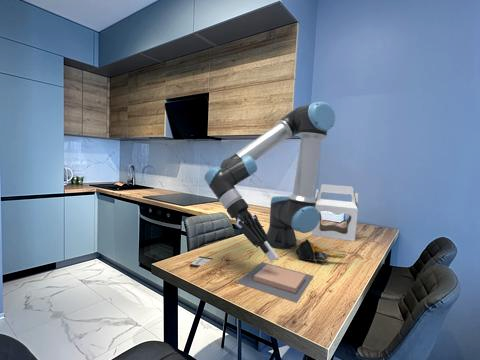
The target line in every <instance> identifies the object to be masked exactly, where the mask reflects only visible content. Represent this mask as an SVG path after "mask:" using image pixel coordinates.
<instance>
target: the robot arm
mask: <svg viewBox="0 0 480 360" xmlns="http://www.w3.org/2000/svg"><path fill="white" fill-rule="evenodd" d="M335 121H336V115H335V111H334V109H333V108H332V106H331V104H329V103H327V102H325V101H316V102H312V103H309V104H306V105H301V106H298V107H296V108H295V109H292V110H291V111H290V112H288V113H287V114H286V115H284V116H283V117H282V118H280V119H279V120H278V121H276V124H275V125H274V126H273V127H271V128H270V129H268V130H266V132H265V133H263V134H261V135H260V136H259V137H257V138H255V139H254V140H253V141H251V142H249V144H247V145H246V146H244V147H243V148H241V149H240V150H238V151H237V152H235V153H234V154H233V155H231V156H229V157H227V158H224V159H222V160H221V161H220V162H219V164H218V165H219V166H213V167H211V168H210V169H209V170H207V171H206V173H205V174H204V181H205V182H206V184H207V186H208V187H209V188H210V190H211V191H212V193H213V194H214V195H215V196H216V198H217V199H218V201H219V202H220V203H221V205H222V207H223V208H224V209H225V210H226V212H227V213H228V215H229V217H230V218H231V219H235V221H236V223H235V224H234V226H235V228H236V229H238V230H239V231H240V232H241V233H242V234H243V236H244V237H245V238H246V239H247V240H248V241H249V242H250V243H251V244H252V245H253V247H256V248H259V249H261V251H262V252H263V254H264V255H265V256H266V258H267V259H268V261H269V262H270V263H272V262H274V261H275V260H276V259H278V258H279V256H278V254H277V253H276V252H275V250H274V249H273V248H275V249H280V250H282V249H286V250H287V249H294V248H296V247H297V242H298V240H297V235H296V232H299V233H302V234H307V233H309V232H312V230H313V229H314V228H315V227H316V226H317V225H318V223H319V219H320V215H319V212H318V210H317V209H316V208H315V207H316V201H315V200H316V199H315V197H314V196H315V194H314V193H315V188H316V180H317V175H318V169H319V161H320V155H321V150H322V149H321V148H322V142H323V141H324V139H326V138H327V135H328V132H329V130H331V129H332V127H334V126H335ZM297 135H298V137H299V138H300V144H299V150H298V157H297V163H296V170H295V175H294V176H295V177H294V182H293V188H292V189H293V190H292V194H291V195H290V196H289V195H288V196H281V195H279V196H273V197H271V200H270V208H269V209H270V211H269V227H268V230H267V232H266V231H265V229H264V228H263V225H261V223H260V221H259V218H258V215H257V214H254V215H252V213H251V212H250V211H249V210H248V209H249V204H248V203H247V201H246V200H245V199H244V198H243V196H242V195H241V193H240V192H239V190H238V189H236V187H235V186H236V185H237V184H240V183H241V182H243V181H244V180H246V179H248V178H249V177H251V176H253V175H254V174H255V173H256V172H257V170H258V165H257V163H256V160H258V159H260V158H261V157H262V156H263V155H265V154H266V153H268V152H269V151H270V150H273V148H275V147H276V146H278V145H279V144H280V143H282V142H283V141H284V140H286V139H292V138H293V137H294V136H297ZM295 231H296V232H295Z"/></svg>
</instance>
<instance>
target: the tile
mask: <svg viewBox="0 0 480 360" xmlns="http://www.w3.org/2000/svg"><path fill="white" fill-rule="evenodd" d="M268 264H269V263H268ZM268 264H267V265H266V266H265V267H264V268H262V269H261V270H260V271H259V272H258V273H257V274H255V275H254V281H257V282H260V283H264V284H267V285H270V286H273V287H276V288H280V289H283V290H286V291H289V292H292V293H296V292H297V290H298V289H299V287H300V286H301V285H302V283H303V282H304V280H305V276H306V275H305V274H306V273H305V274H302V273H303V272H301V273H298V272H299V271H297V272H294V271H295V270H294V271H291V270H292V269H290V270H287V269H288V268H286V269H283V268H284V267H283V268H280V267H281V266H279V267H276V266H277V265H275V266H272V265H273V264H271V265H268Z"/></svg>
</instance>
